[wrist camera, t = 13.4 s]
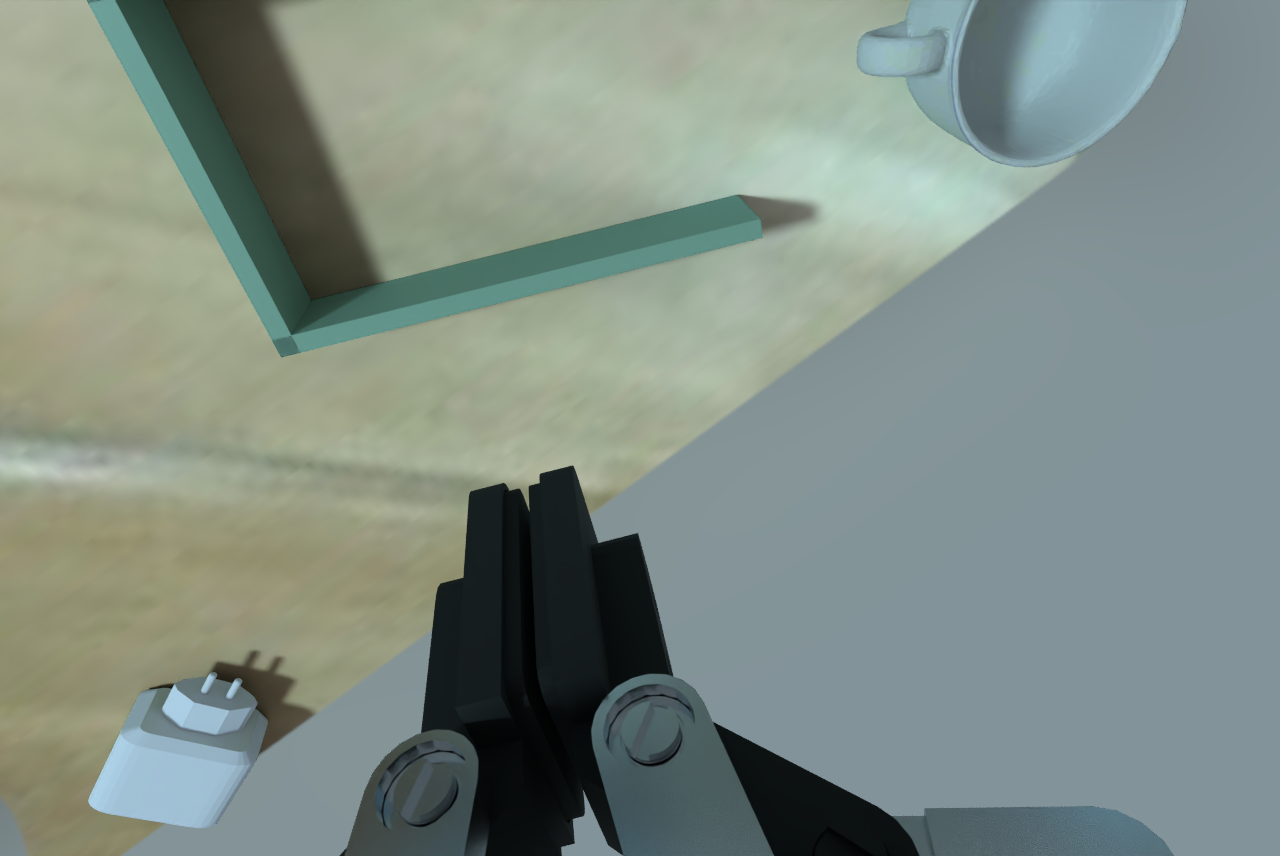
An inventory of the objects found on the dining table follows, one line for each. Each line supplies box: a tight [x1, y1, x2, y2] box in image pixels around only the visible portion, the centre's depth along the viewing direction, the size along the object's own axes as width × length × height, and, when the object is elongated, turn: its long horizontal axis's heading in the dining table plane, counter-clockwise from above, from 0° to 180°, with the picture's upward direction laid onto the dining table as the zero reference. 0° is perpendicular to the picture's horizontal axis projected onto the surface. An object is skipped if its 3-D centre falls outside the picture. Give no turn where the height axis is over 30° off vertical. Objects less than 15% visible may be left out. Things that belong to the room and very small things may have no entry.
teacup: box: [857, 0, 1187, 167], centre depth 34 cm, size 14×11×8 cm
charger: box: [88, 672, 268, 828], centre depth 55 cm, size 5×9×15 cm
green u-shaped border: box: [87, 0, 763, 357], centre depth 35 cm, size 17×26×4 cm, turn 101°
